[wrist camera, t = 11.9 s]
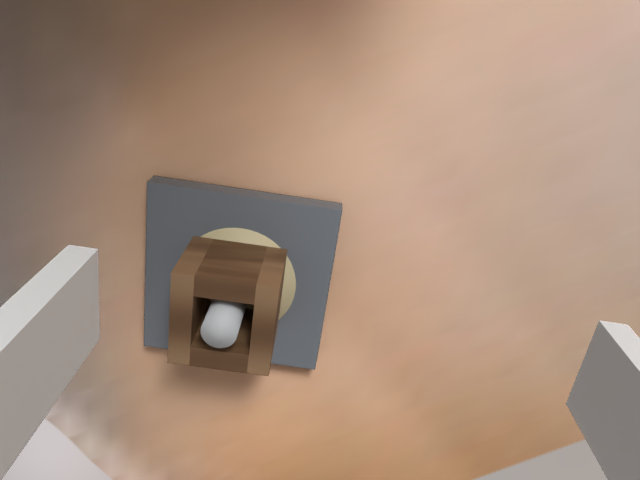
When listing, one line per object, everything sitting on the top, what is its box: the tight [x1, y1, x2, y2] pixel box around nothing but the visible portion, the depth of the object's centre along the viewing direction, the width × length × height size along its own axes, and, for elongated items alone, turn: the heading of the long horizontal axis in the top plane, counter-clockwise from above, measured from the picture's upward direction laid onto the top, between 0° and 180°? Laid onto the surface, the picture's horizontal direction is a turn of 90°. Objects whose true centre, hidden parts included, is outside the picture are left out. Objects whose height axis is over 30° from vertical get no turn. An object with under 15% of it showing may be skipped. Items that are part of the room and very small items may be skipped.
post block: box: [144, 176, 342, 369], centre depth 40 cm, size 14×14×8 cm
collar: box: [168, 236, 288, 376], centre depth 40 cm, size 7×7×6 cm
